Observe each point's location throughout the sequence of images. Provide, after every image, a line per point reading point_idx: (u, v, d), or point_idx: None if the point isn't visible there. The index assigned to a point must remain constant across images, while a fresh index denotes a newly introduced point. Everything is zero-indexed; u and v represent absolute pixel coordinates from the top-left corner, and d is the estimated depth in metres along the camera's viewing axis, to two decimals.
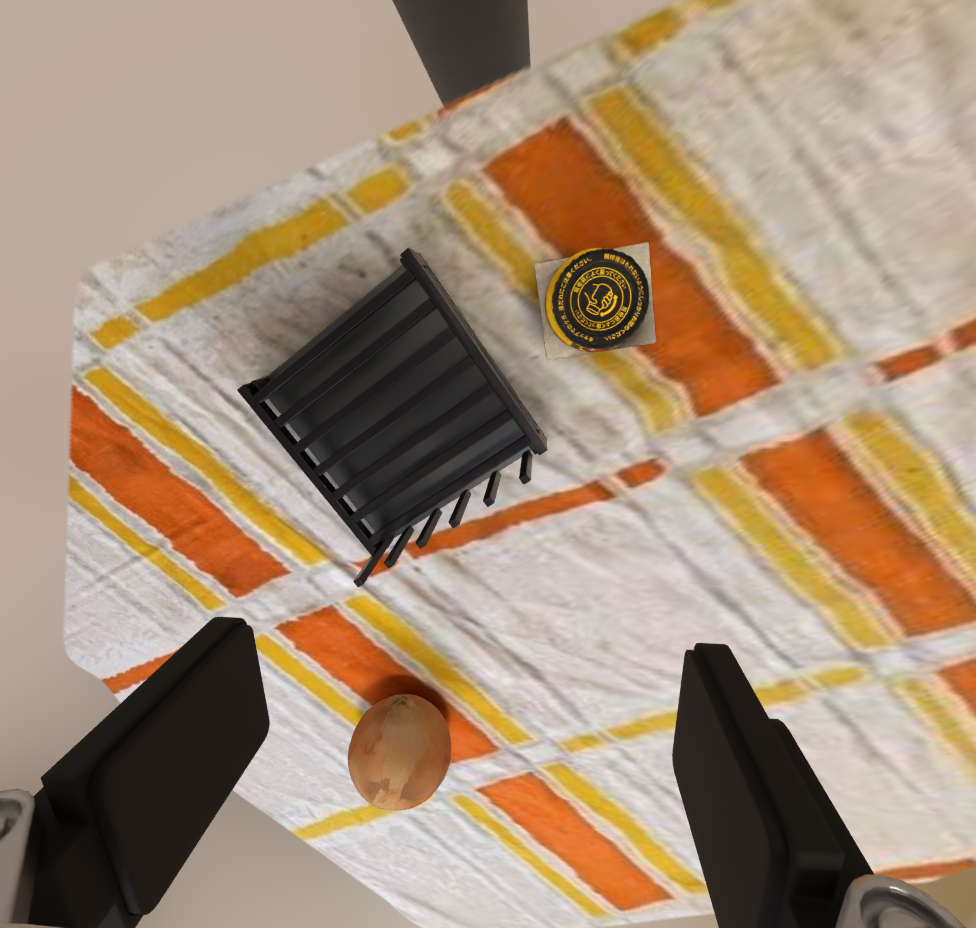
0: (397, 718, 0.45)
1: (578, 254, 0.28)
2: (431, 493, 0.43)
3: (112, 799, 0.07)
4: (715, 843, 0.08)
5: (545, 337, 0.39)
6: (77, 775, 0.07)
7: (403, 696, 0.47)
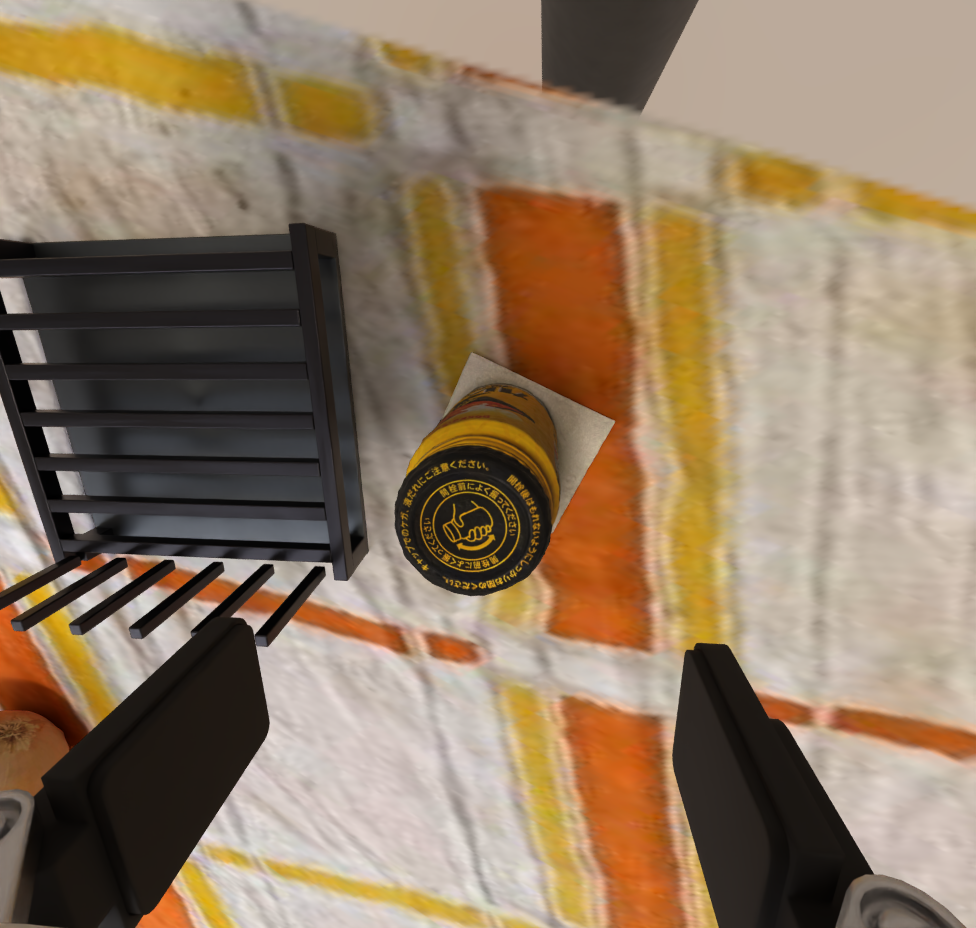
0: None
1: (493, 425, 0.17)
2: (191, 525, 0.30)
3: (112, 799, 0.07)
4: (715, 843, 0.08)
5: None
6: (77, 775, 0.07)
7: (23, 727, 0.34)
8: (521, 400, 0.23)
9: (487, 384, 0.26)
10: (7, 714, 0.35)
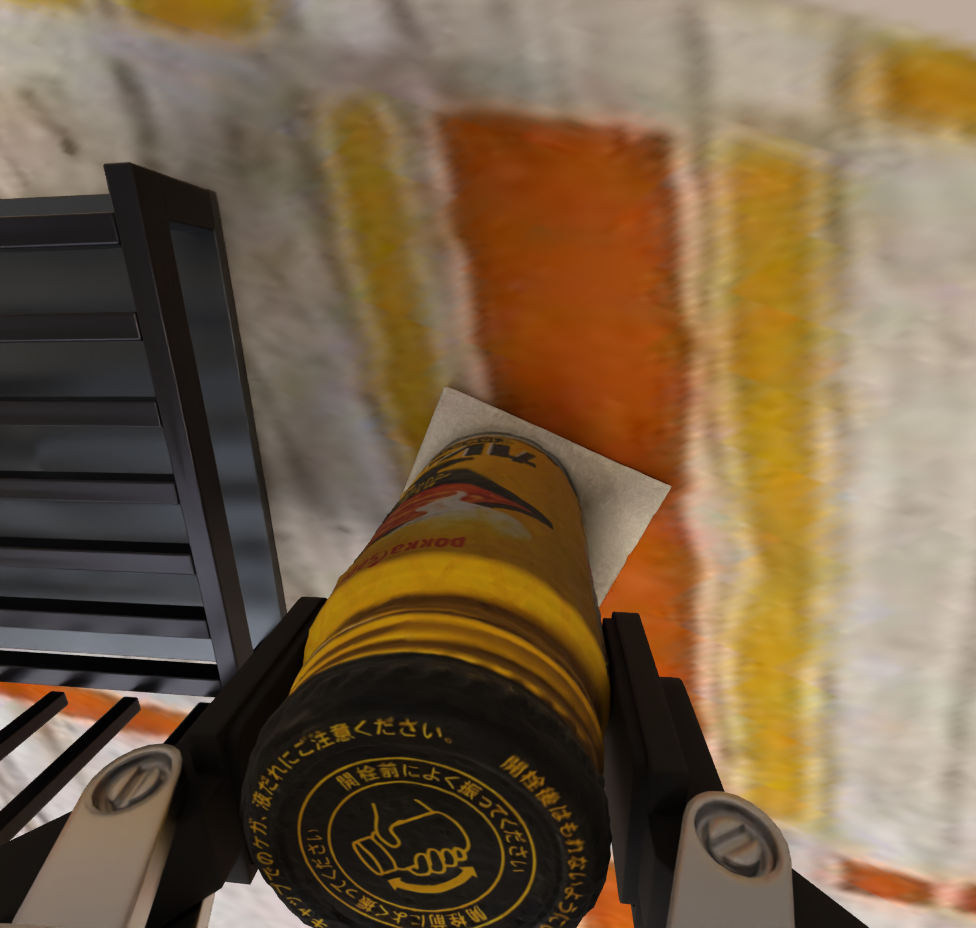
0: None
1: (471, 567, 0.08)
2: None
3: (244, 754, 0.08)
4: (612, 783, 0.09)
5: None
6: (217, 731, 0.07)
7: None
8: (526, 471, 0.13)
9: (472, 434, 0.17)
10: None
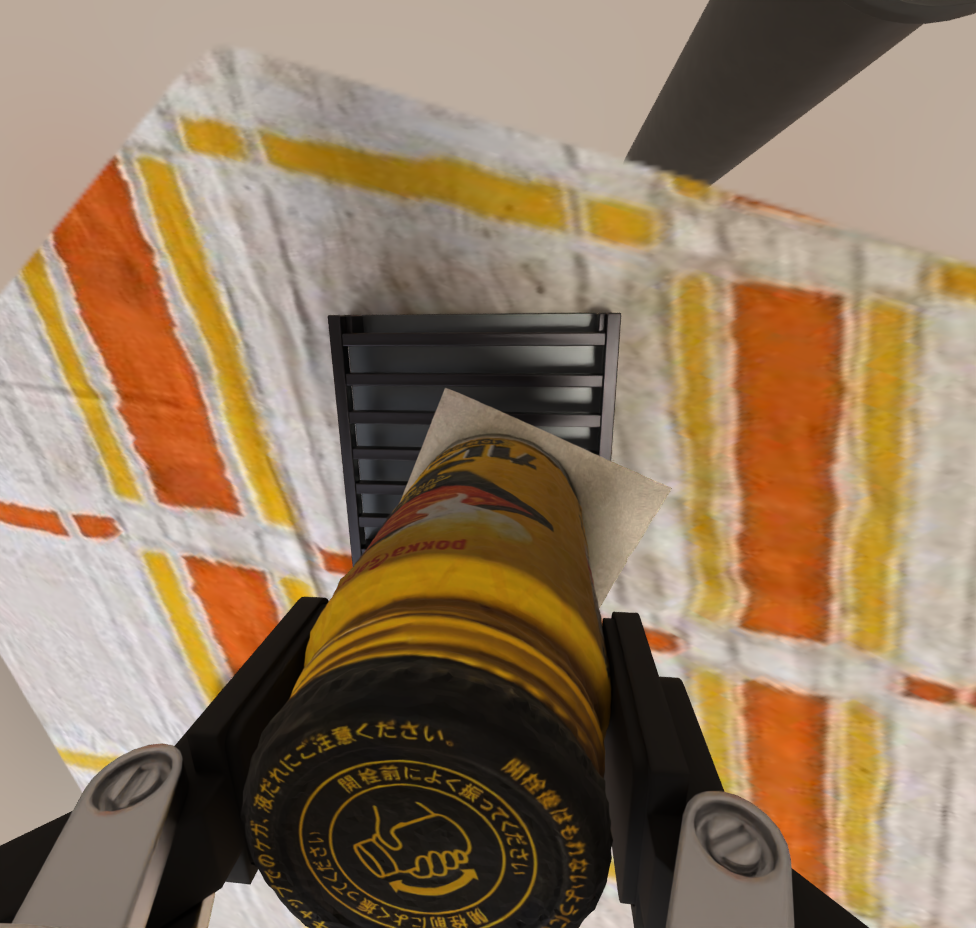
0: None
1: (473, 570, 0.08)
2: None
3: (245, 754, 0.08)
4: (612, 783, 0.09)
5: None
6: (217, 731, 0.07)
7: None
8: (526, 473, 0.13)
9: (472, 436, 0.17)
10: None
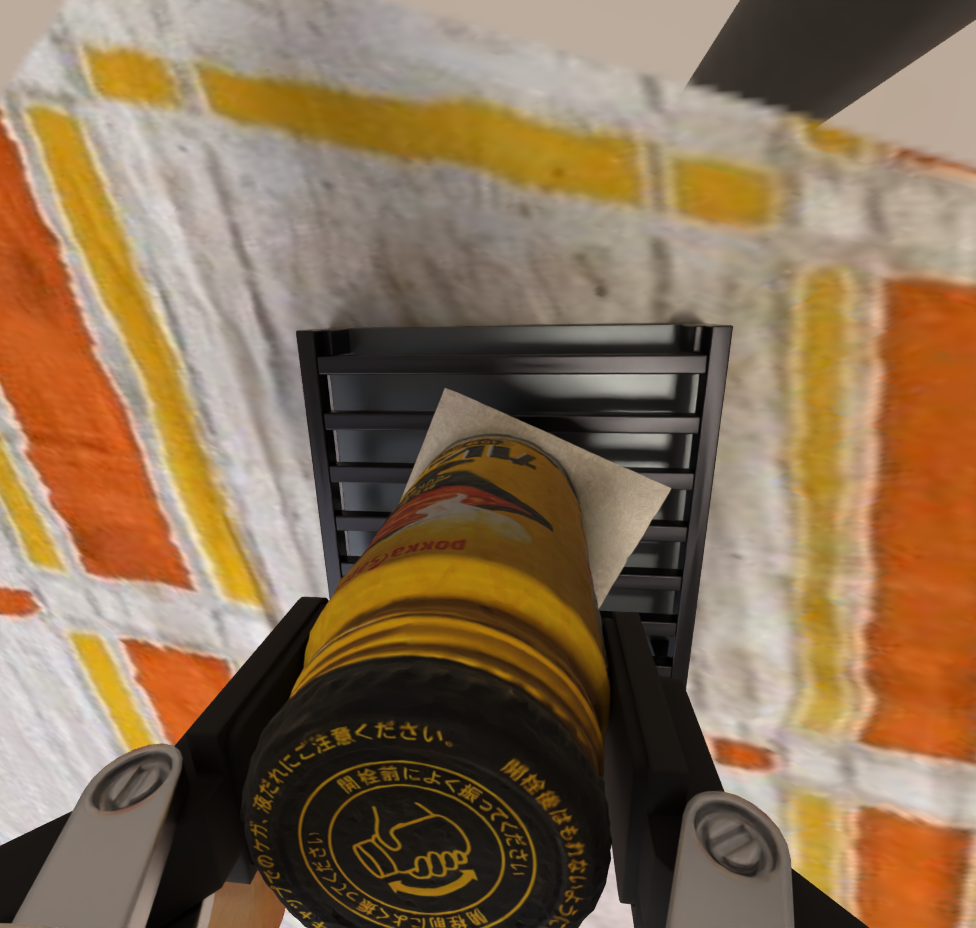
0: (231, 882, 0.29)
1: (472, 571, 0.08)
2: None
3: (245, 754, 0.08)
4: (612, 783, 0.09)
5: None
6: (217, 731, 0.07)
7: None
8: (526, 474, 0.13)
9: (472, 436, 0.17)
10: None
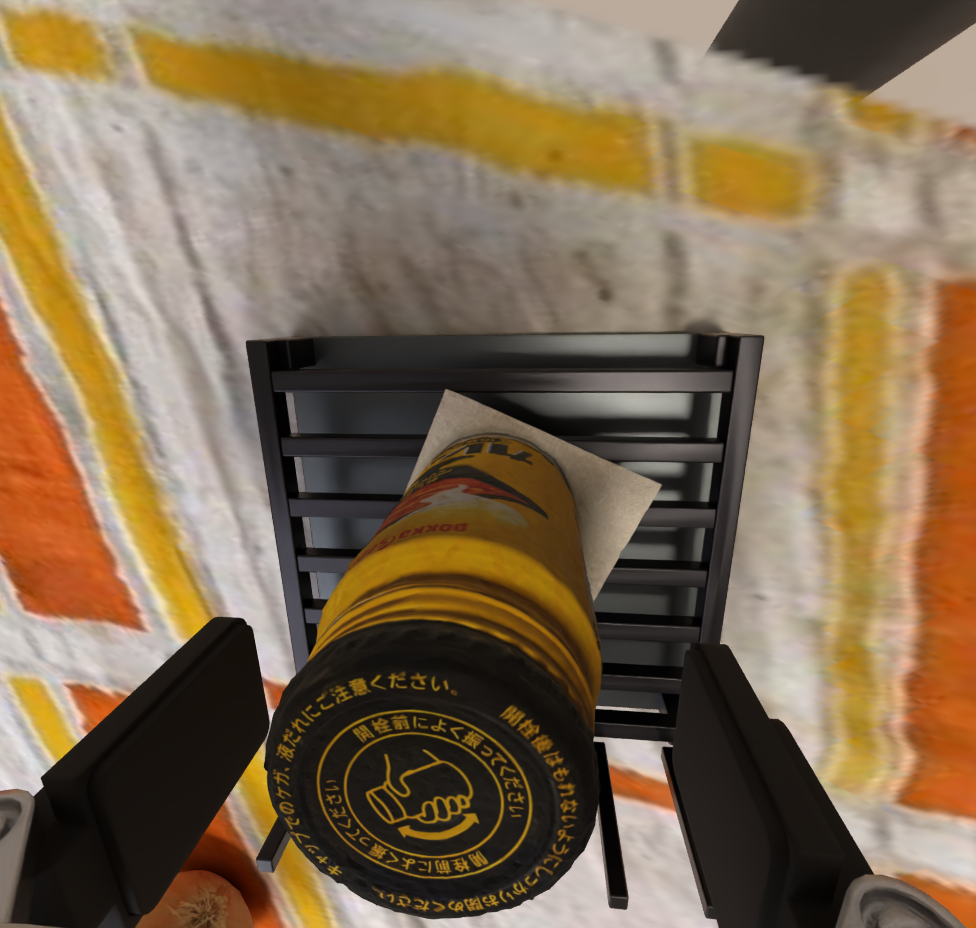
0: None
1: (473, 549, 0.09)
2: None
3: (112, 799, 0.07)
4: (715, 843, 0.08)
5: None
6: (77, 775, 0.07)
7: (214, 903, 0.28)
8: (523, 468, 0.14)
9: (471, 435, 0.18)
10: (189, 883, 0.29)
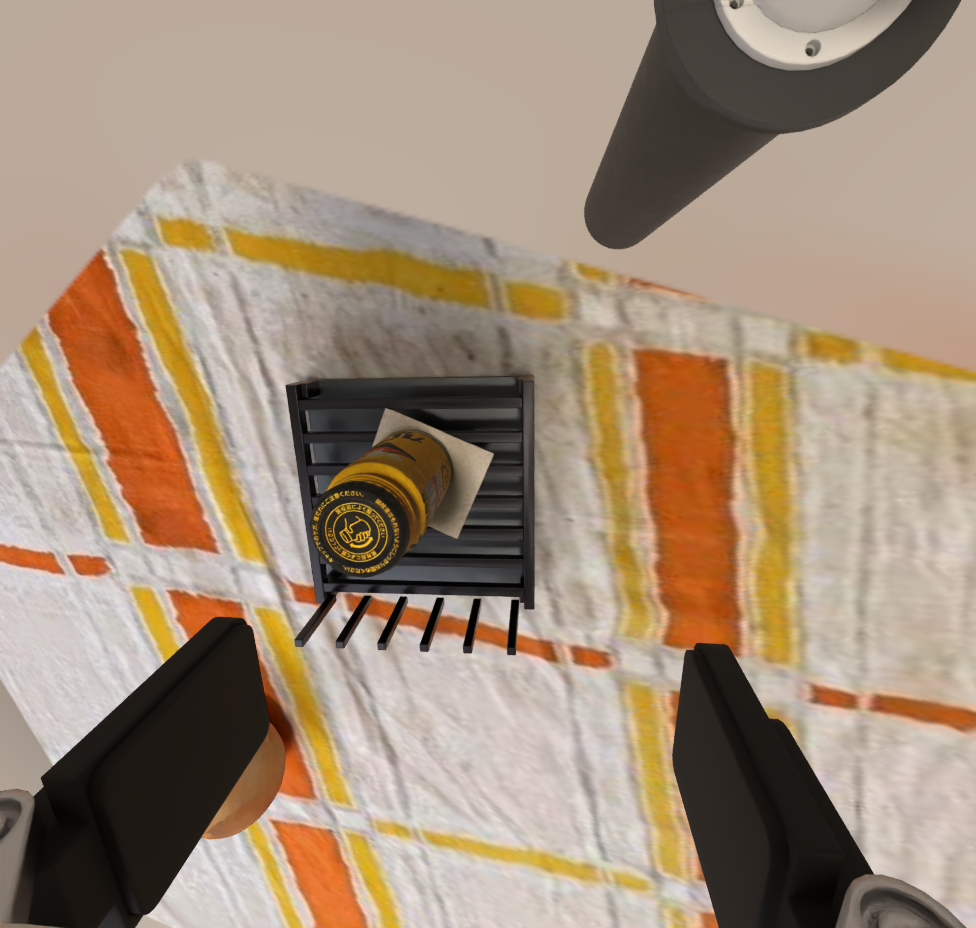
0: None
1: (377, 466, 0.27)
2: (404, 570, 0.42)
3: (112, 799, 0.07)
4: (715, 843, 0.08)
5: None
6: (77, 775, 0.07)
7: None
8: (414, 444, 0.32)
9: (399, 430, 0.35)
10: None
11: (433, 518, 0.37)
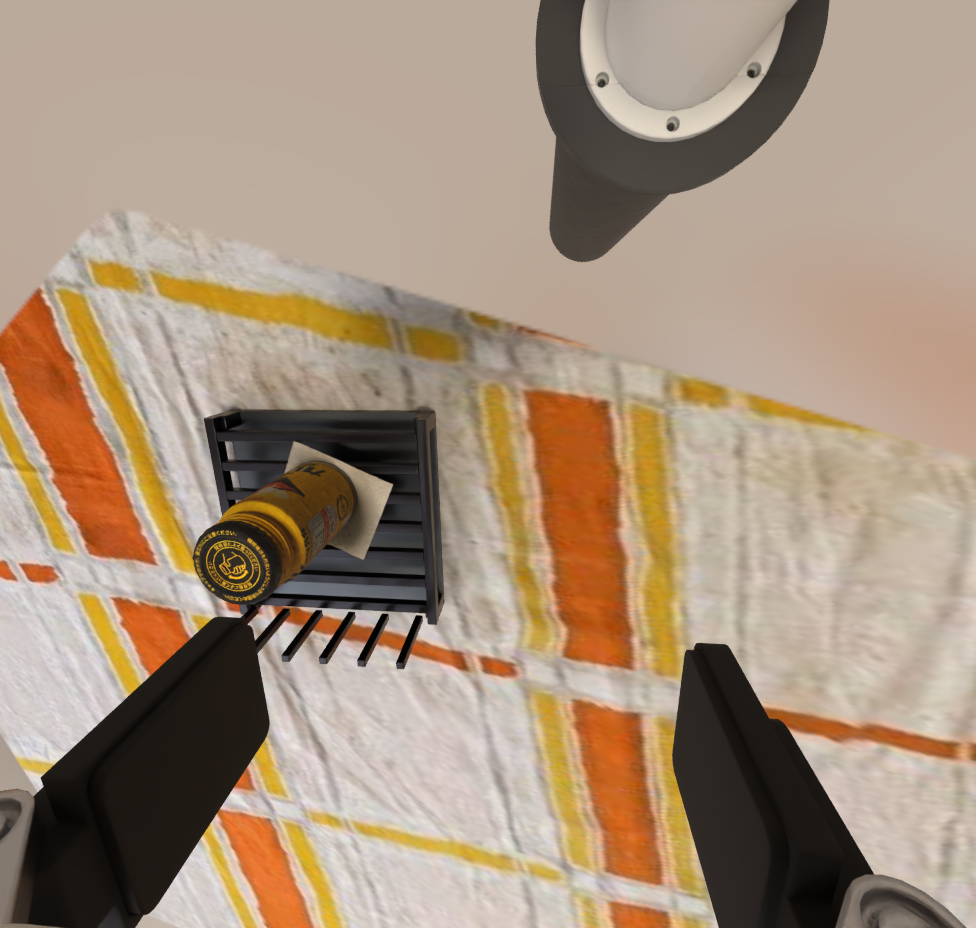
0: None
1: (259, 504, 0.30)
2: (324, 584, 0.46)
3: (112, 799, 0.07)
4: (715, 843, 0.08)
5: None
6: (77, 775, 0.07)
7: None
8: (311, 478, 0.35)
9: (307, 461, 0.39)
10: None
11: (341, 541, 0.40)
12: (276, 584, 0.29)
